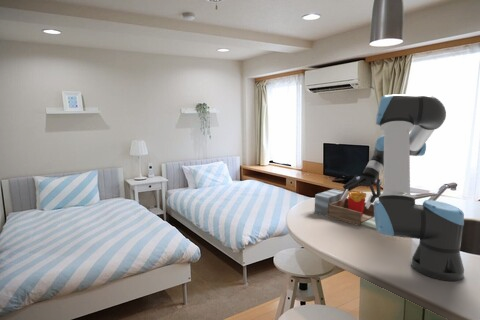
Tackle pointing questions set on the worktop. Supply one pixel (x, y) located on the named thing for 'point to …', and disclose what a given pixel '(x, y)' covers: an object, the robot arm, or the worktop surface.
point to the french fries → (356, 201)
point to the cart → (343, 209)
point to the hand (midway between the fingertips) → (353, 203)
